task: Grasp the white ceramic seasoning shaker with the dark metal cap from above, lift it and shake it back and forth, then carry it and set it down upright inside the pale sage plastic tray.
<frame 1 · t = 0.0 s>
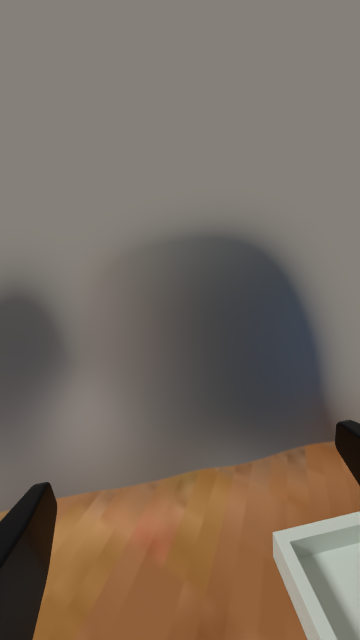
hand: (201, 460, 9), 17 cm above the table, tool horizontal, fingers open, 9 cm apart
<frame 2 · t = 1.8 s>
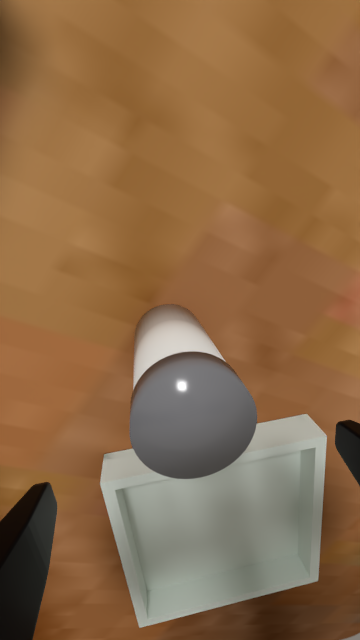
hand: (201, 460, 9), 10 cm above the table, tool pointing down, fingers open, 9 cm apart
shaker: (168, 336, 19), on the table
tray: (216, 508, 24), on the table
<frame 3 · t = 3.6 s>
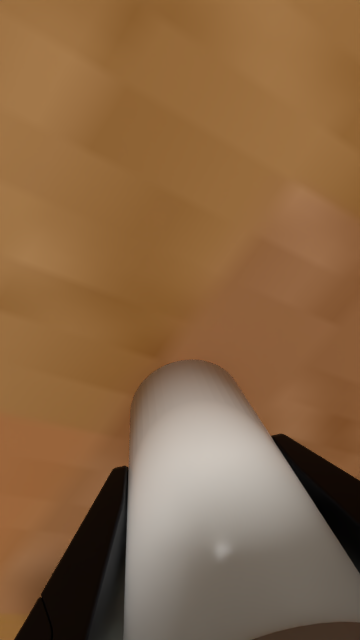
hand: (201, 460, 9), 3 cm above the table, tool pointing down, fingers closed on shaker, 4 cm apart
shaker: (187, 410, 11), on the table, touching gripper
when the fingers open (4 cm above the table, at t = 9.1 s): shaker drops 1 cm, resting on tray.
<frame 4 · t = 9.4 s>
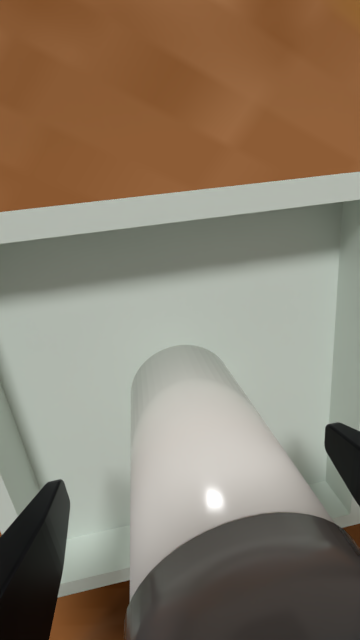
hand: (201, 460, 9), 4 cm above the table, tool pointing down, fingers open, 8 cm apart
shaker: (182, 391, 12), point 1 cm above the table, touching tray
tray: (180, 385, 13), on the table
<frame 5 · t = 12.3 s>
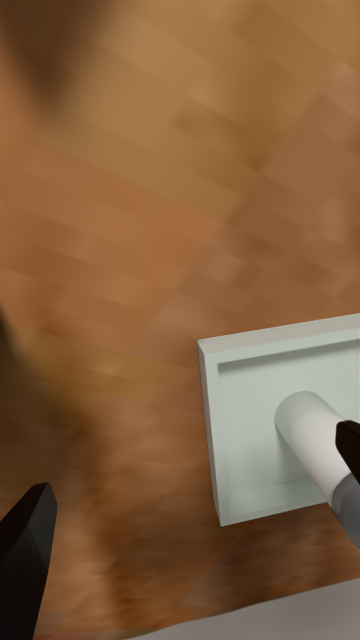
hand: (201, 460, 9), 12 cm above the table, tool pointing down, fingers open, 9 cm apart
shaker: (300, 414, 23), point 1 cm above the table, touching tray
tray: (296, 410, 24), on the table
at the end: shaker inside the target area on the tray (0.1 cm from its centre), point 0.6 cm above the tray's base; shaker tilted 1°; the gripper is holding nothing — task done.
